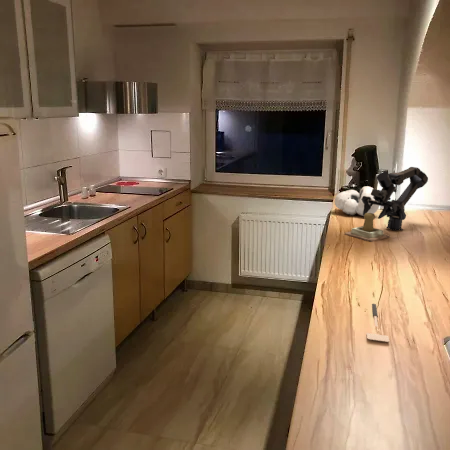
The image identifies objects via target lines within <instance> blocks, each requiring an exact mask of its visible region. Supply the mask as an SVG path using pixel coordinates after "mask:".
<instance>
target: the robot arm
mask: <svg viewBox="0 0 450 450" xmlns="http://www.w3.org/2000/svg"><path fill="white" fill-rule="evenodd" d="M408 179H409V181H410V182H409V184H408V185H407V187H406V188H405V189H404V191H402V193H401V194H400V195H399V196H398V198H397V199H396V200H395V199H392V200H391V196H392V195H393V193H397V188H396V186H400V185H402V184H403V183H404V181H406V180H408ZM376 180H377V183H378V184H379V186H380V187H381V189H375V188H373V189H372V192H371V195H372V196H374V197H373V198H374V199H375V200H372V199H371V198H370V197H368V196H363V197H362V199H361V200H362V202H363V203H364V210H363V215H365V213H367V212H368V211H369V210H370V209H371V206H372V205H373V204H375V205H379V207H383V208H382V210H381V212H380V213H379V215H378V216H377V218H378V220H380V219H382V218H384V217H386V218H388V220H387V226H386V229H388V230H391V231H403V230H404V229H403V228H402V225H403V221H405V220H406V217H407V214H406V212H405V206H406V204H407V203H408V202H409V201H410V199H411V198H412V197H413V195H414V194H415V193H416V191H417V190H418V189H421V188H423V187H425V185H426V184H427V183H428V182H429V181H428V180H429V177H428V176H427V174H426V173H425V172H423V171H422V170H421V169H420V168H419V167H415V166H410V167H408V168H406V169H404V170H402V171H398V172H388V171H387V170H384V171H383V172H380V173H379V174H377V175H376Z"/></svg>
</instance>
